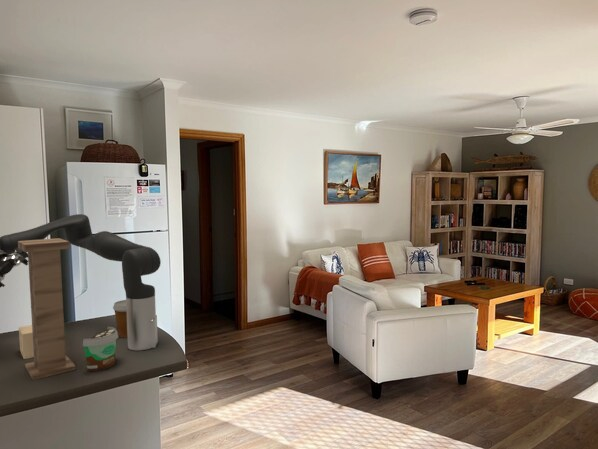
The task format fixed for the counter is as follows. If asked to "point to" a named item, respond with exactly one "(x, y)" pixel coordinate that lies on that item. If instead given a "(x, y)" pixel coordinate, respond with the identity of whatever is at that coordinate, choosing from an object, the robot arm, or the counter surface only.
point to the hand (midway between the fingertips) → (13, 273)
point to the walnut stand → (46, 307)
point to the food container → (101, 350)
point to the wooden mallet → (26, 341)
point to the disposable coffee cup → (121, 317)
